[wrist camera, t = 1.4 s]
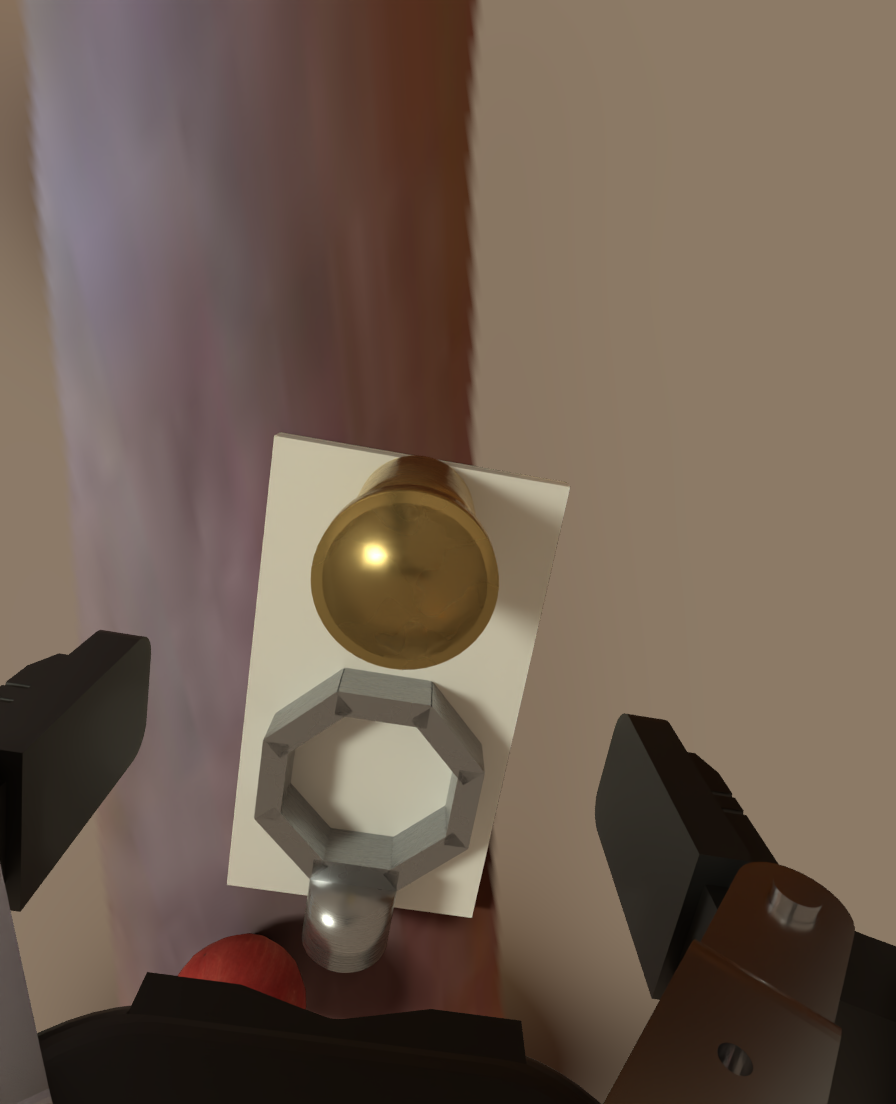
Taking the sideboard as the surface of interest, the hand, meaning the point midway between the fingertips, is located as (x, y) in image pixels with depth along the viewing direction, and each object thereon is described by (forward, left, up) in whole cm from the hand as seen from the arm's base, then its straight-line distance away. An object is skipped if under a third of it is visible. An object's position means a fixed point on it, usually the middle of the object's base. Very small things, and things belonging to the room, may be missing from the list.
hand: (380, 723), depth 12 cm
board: (+8, 0, -16) cm, 18 cm away
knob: (0, 0, -15) cm, 15 cm away
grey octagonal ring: (+12, 0, -15) cm, 19 cm away
